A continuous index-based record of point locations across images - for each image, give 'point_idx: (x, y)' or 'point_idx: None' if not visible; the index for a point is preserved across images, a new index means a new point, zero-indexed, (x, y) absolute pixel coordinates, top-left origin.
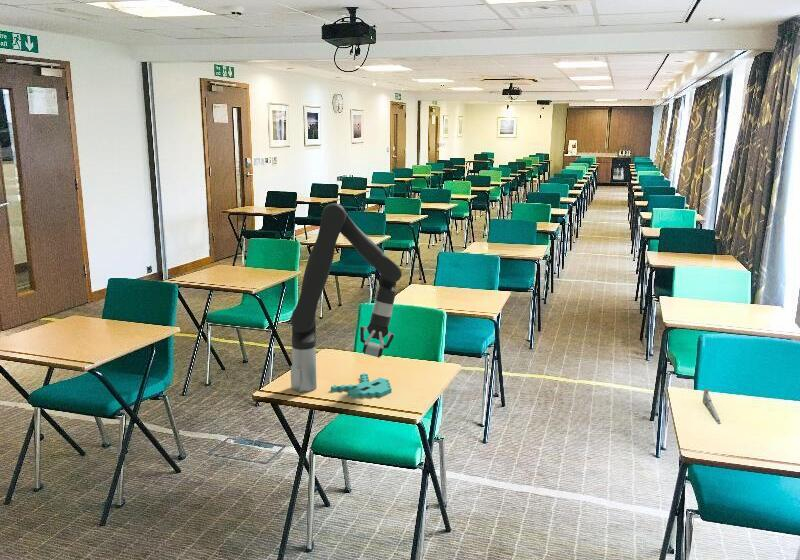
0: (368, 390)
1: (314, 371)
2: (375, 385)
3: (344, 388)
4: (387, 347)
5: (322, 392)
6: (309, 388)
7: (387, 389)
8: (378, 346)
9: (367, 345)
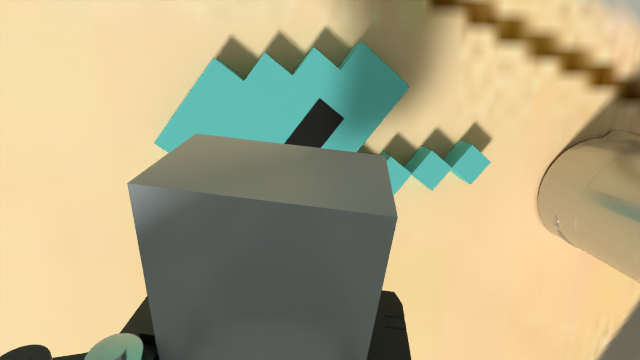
0: (292, 104)
1: (636, 202)
2: None
3: (420, 157)
4: (12, 357)
5: (516, 134)
6: (584, 148)
7: (177, 120)
8: None
9: (370, 318)
